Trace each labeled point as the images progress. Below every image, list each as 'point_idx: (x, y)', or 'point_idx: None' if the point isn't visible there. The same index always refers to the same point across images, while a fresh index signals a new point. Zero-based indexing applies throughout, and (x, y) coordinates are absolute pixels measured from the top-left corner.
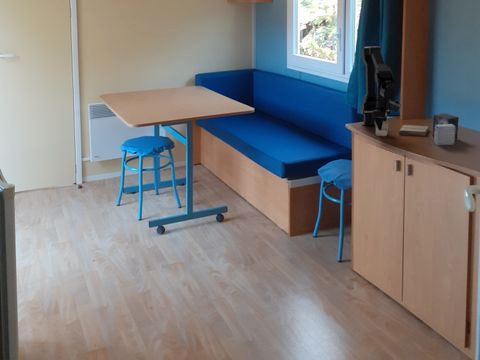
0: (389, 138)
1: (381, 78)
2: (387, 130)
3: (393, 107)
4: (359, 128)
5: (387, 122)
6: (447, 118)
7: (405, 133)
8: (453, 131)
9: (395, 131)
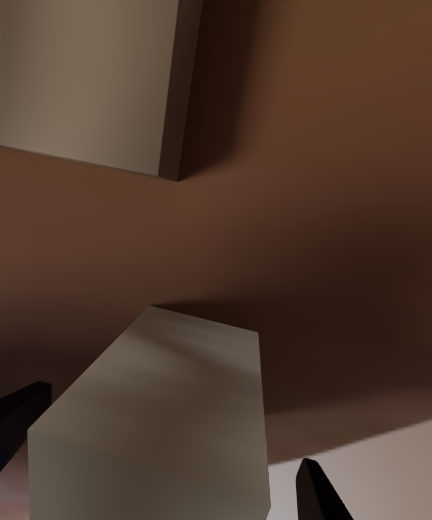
0: (381, 306)
1: None
2: (169, 338)
3: None
4: (17, 491)
5: (117, 461)
6: None
7: (185, 88)
8: None
9: (45, 223)
